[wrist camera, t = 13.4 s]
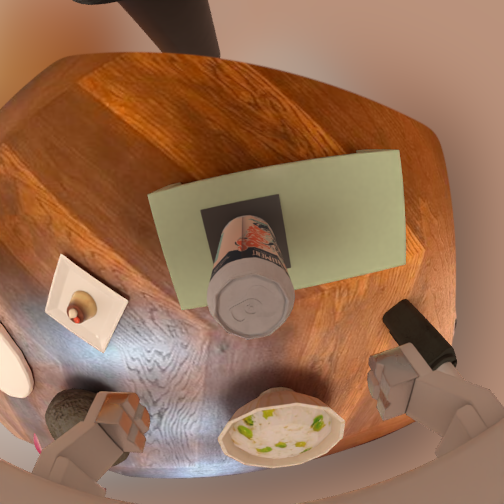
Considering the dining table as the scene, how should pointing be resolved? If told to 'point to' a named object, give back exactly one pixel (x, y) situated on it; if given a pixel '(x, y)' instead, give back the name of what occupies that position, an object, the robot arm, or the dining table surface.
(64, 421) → the vase
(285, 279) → the beer can
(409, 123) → the dining table surface
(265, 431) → the bowl
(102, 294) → the dessert
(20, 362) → the decorative plate
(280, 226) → the shelf
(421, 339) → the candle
